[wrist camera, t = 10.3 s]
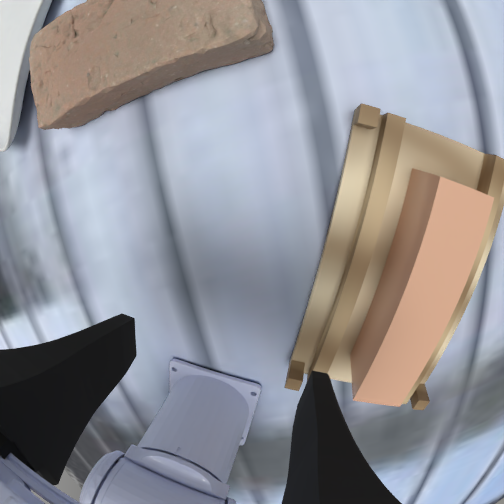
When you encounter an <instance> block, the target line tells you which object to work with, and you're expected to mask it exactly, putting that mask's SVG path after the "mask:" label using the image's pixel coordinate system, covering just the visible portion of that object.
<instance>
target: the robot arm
mask: <svg viewBox="0 0 504 504" xmlns="http://www.w3.org/2000/svg"><path fill="white" fill-rule="evenodd" d="M135 357H136V340H135V318H132V317H130V316H127V315H124V314H120V315H117V316H115V317H112V318H110V319H108V320H105V321H103V322H101V323H98V324H96V325H93V326H91V327H89V328H86V329H84V330H81V331H79V332H76V333H73V334H71V335H68V336H65V337H62V338H60V339H57V340H53V341H50V342H46V343H42V344H38V345H34V346H28V347H22V348H16V349H6V350H0V504H45V503H44V502H43V501H41V500H40V499H39V498H38V497H36V496H35V495H34V494H33V493H32V492H31V490H30V489H32V490H33V491H34V492H36V493H37V494H38V495H39V496H41V497H42V498H43V499H45V500H46V501H48V502H49V503H50V504H236V501H235V500H234V499H231V498H228V497H227V495H228V492H229V489H230V486H229V485H227V484H226V483H227V480H228V477H229V474H230V472H231V469H232V466H233V463H234V460H235V457H236V453H237V450H238V447H239V445H244V444H245V441H246V438H247V434H248V431H249V428H250V425H251V422H252V418H253V415H254V412H255V409H256V405H257V402H258V399H259V395H260V392H261V386H260V385H259V384H257V383H253V382H250V381H246V380H242V379H239V378H235V377H232V376H228V375H225V374H221V373H218V372H215V371H212V370H208V369H205V368H202V367H199V366H196V365H193V364H190V363H187V362H184V361H181V360H178V359H172V360H171V361H170V363H169V395H168V397H167V398H166V400H165V402H164V403H163V405H162V406H161V408H160V410H159V411H158V413H157V415H156V416H155V418H154V420H153V421H152V423H151V425H150V426H149V428H148V429H147V431H146V433H145V434H144V436H143V438H142V439H141V441H140V443H139V444H138V446H135V445H133V444H132V445H131V446H130V447H129V449H128V450H127V452H126V454H125V453H123V452H121V451H118V450H117V451H114V452H112V453H108V454H106V455H104V456H103V457H102V458H101V459H100V460H99V461H98V462H97V463H96V465H95V466H94V467H93V469H92V470H91V472H90V474H89V475H88V477H87V479H86V481H85V483H84V485H83V488H82V491H81V494H80V503H79V502H78V501H76V500H75V499H73V498H71V497H70V496H68V495H67V494H65V493H63V492H62V491H61V490H59V489H57V488H56V487H55V486H53V485H57V484H58V483H59V481H60V478H61V475H62V473H63V470H64V468H65V466H66V463H67V461H68V459H69V457H70V455H71V453H72V451H73V449H74V447H75V445H76V443H77V441H78V439H79V437H80V436H81V434H82V432H83V430H84V429H85V427H86V425H87V424H88V422H89V420H90V419H91V417H92V415H93V414H94V413H95V411H96V410H97V409H98V407H99V406H100V405H101V404H102V402H103V401H104V400H105V399H106V397H107V396H108V395H109V394H110V393H111V391H112V390H113V389H114V388H115V386H116V385H117V384H118V383H119V381H120V380H121V379H122V378H123V376H124V375H125V374H126V372H127V371H128V369H129V367H130V366H131V364H132V362H133V361H134V359H135ZM174 367H175V368H176V369H175V368H174ZM253 392H255V393H253ZM282 504H402V503H401V502H399V501H398V500H397V499H396V498H395V497H394V496H393V495H392V493H391V492H390V491H389V490H388V489H387V488H386V487H385V486H384V484H383V483H382V482H381V481H380V479H379V478H378V477H377V475H376V474H375V473H374V471H373V470H372V469H371V467H370V466H369V464H368V463H367V461H366V460H365V458H364V457H363V455H362V453H361V452H360V450H359V448H358V446H357V445H356V443H355V441H354V439H353V437H352V435H351V433H350V431H349V429H348V426H347V424H346V422H345V419H344V417H343V415H342V412H341V410H340V407H339V404H338V402H337V399H336V396H335V393H334V390H333V387H332V384H331V380H330V377H329V375H328V374H327V373H323V372H318V371H313V370H312V372H311V374H310V377H309V379H308V382H307V384H306V386H305V389H304V391H303V394H302V396H301V398H300V401H299V403H298V406H297V410H296V415H295V420H294V425H293V432H292V442H291V452H290V462H289V471H288V478H287V484H286V488H285V492H284V497H283V501H282Z"/></svg>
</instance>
